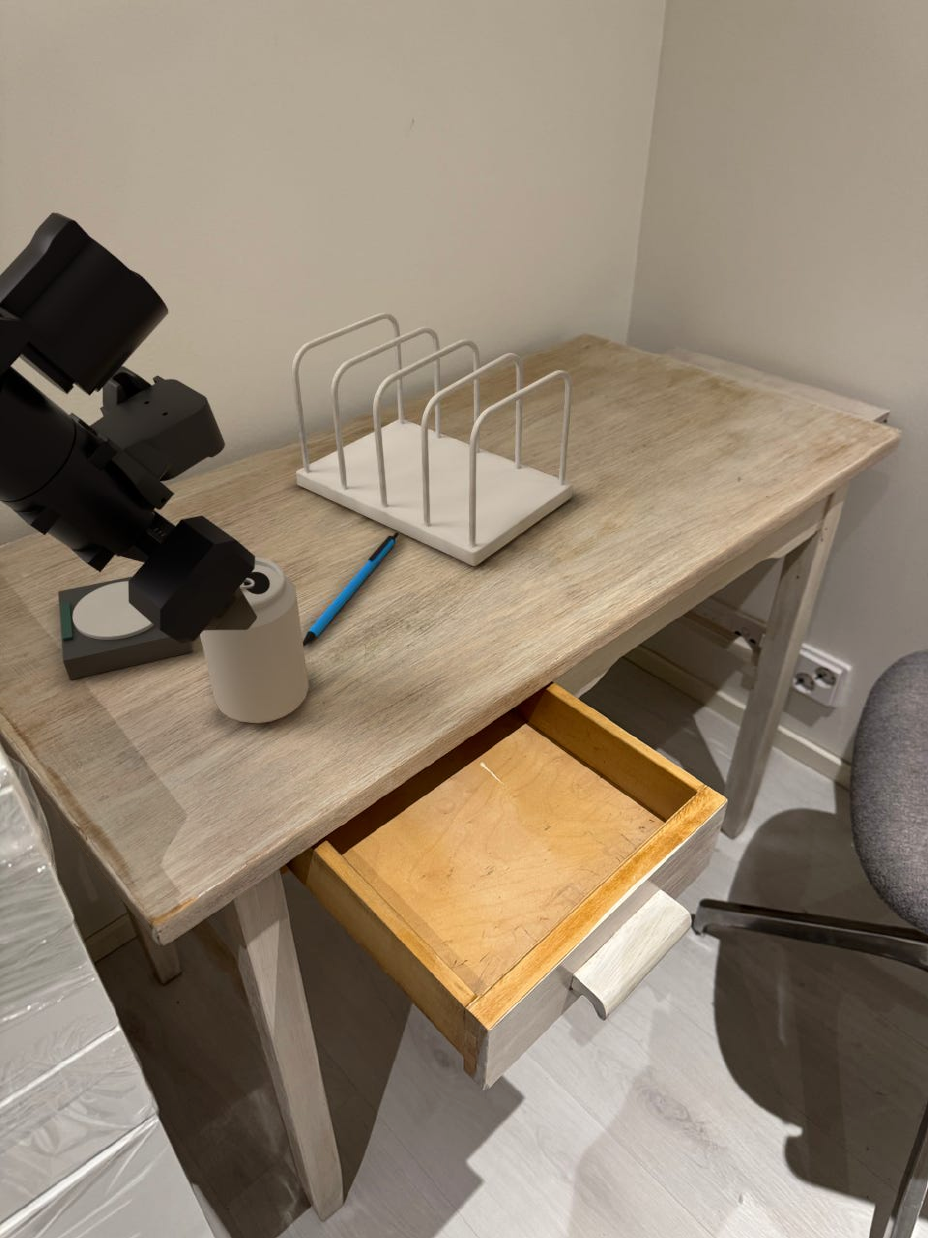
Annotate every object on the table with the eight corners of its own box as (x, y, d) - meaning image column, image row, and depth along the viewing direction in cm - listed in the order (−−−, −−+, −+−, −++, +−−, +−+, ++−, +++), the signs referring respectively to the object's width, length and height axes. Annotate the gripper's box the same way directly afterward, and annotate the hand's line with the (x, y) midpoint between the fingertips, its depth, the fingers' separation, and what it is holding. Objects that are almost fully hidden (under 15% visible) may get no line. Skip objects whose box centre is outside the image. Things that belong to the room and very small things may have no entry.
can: (320, 716, 71) (304, 596, 63) (225, 741, 69) (197, 620, 61) (298, 657, 76) (281, 541, 69) (209, 679, 74) (182, 561, 67)
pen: (401, 538, 91) (400, 529, 90) (306, 652, 77) (305, 642, 76) (393, 536, 91) (392, 527, 90) (297, 649, 77) (296, 639, 76)
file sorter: (573, 498, 97) (586, 361, 87) (474, 571, 86) (477, 424, 77) (400, 430, 109) (396, 302, 99) (295, 486, 98) (278, 350, 89)
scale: (69, 680, 74) (61, 656, 72) (64, 610, 81) (56, 587, 79) (192, 652, 77) (187, 628, 75) (177, 586, 84) (171, 564, 82)
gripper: (231, 396, 42) (378, 555, 55) (54, 296, 53) (213, 450, 66) (75, 577, 41) (263, 698, 54) (-76, 438, 51) (112, 568, 64)
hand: (211, 591), depth 59 cm, fingers open, 9 cm apart
